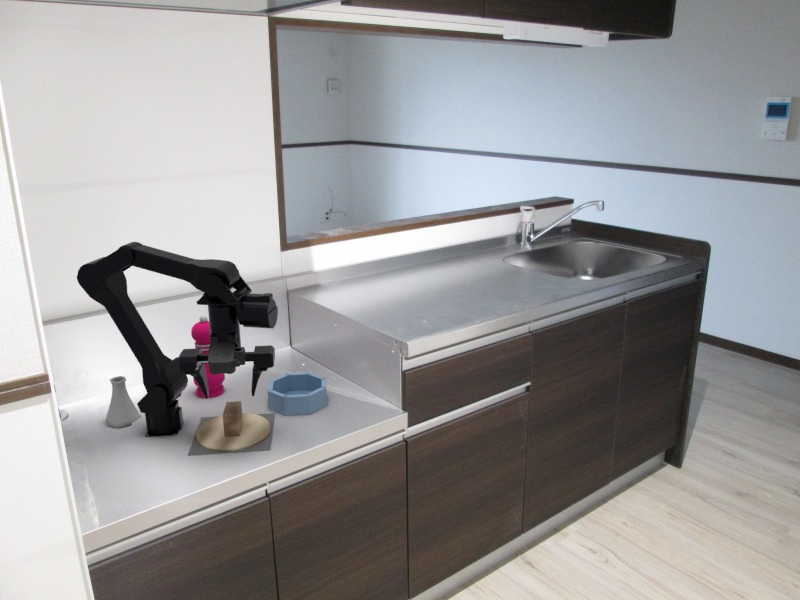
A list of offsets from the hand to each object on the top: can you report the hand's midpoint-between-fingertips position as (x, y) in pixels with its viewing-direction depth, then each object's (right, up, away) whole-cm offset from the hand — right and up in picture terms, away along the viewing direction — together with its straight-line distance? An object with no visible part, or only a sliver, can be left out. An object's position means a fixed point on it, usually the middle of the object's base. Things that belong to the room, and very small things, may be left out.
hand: (230, 396), depth 131 cm
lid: (0, -8, +3) cm, 8 cm away
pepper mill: (-10, -3, +22) cm, 24 cm away
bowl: (+11, -4, +17) cm, 20 cm away
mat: (0, -9, +3) cm, 9 cm away
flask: (-26, -7, +9) cm, 28 cm away
